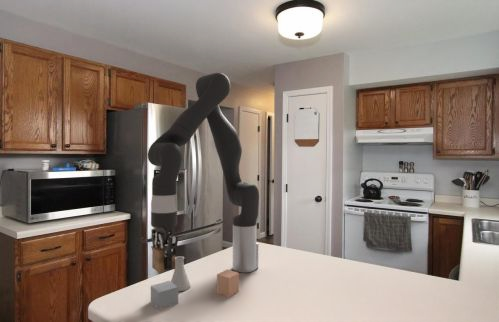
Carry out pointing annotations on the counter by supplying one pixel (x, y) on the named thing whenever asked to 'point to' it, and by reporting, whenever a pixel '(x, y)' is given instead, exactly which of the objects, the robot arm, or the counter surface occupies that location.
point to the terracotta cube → (227, 283)
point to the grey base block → (164, 294)
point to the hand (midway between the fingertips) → (163, 266)
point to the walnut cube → (160, 259)
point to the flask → (180, 275)
